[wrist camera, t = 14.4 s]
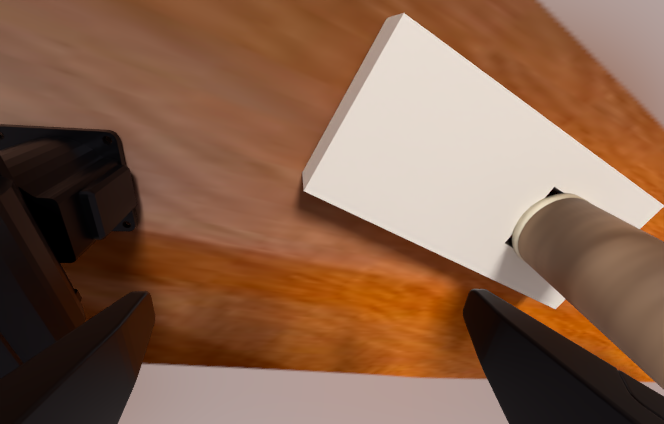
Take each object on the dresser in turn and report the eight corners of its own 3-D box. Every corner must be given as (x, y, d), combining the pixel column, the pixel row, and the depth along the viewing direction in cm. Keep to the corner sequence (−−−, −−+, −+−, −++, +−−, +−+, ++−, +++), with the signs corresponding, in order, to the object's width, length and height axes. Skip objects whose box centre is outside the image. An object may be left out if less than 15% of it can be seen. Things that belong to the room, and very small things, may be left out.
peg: (490, 249, 25) (658, 422, 13) (492, 188, 23) (702, 336, 11) (556, 234, 25) (781, 394, 14) (566, 171, 23) (851, 301, 11)
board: (302, 172, 21) (303, 191, 18) (387, 18, 18) (403, 12, 15) (530, 283, 28) (555, 309, 25) (623, 188, 24) (664, 205, 22)
